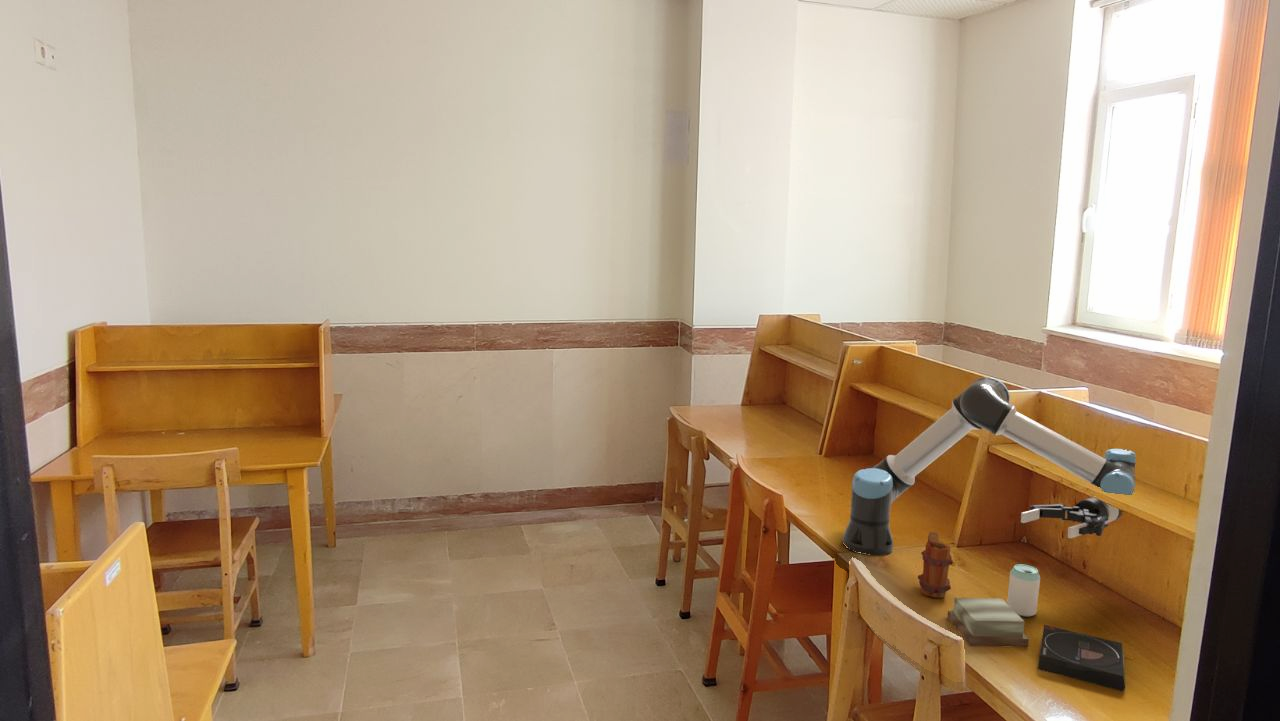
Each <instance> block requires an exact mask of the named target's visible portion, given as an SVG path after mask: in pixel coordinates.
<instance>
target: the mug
mask: <svg viewBox="0 0 1280 721" xmlns="http://www.w3.org/2000/svg"><path fill="white" fill-rule="evenodd" d="M939 537H940V536H939V533H938V532H935V531H930V532H928V536H927V542H926V544H925V550H923V551H921V552H920V553H921V555H922V560H923V564H922V565H923V569H922V573H921V574H919V575H917V579H918V580H919V582H918V584H919V587H920V589H921V590H920V591H921V593H922V594H923V595H925V596H927V597H931V598H943V597H945V596H946V593H947V592H948V591H950V590H951V589H952V586H951V585H950V584H951V582H950V579H949V578H948V576H949V568H950V565H953V563H954V561H953V560H952V558H953V557H952V555H951V546H950V545H949V544H948V543H944V542H943V541H940V540H939Z"/></svg>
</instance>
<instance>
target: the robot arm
mask: <svg viewBox="0 0 1280 721" xmlns="http://www.w3.org/2000/svg"><path fill="white" fill-rule="evenodd" d="M982 429H984V430H985V431H988V432H989V433H991V434H993V435H995V436H999V435H1002V436H1003V437H1005V438H1007V439H1010V440H1012V441H1013V442H1015V443H1017V444H1019V445H1020V446H1022V447H1024V448H1026V449H1028V450H1030V451H1031V452H1033V453H1034V454H1036V455H1039V456H1041V457H1043V458H1044V459H1046V460H1048V461H1049V462H1052V463H1053V464H1055V465H1057V466H1058V467H1060V468H1062V469H1064V470H1066V471H1067V472H1070V474H1073V475H1075V476H1077V477H1078V478H1080V479H1081V480H1084V481H1086V482H1088V483H1089V484H1091V485H1093V486H1094V485H1095V487H1096V486H1097V488H1098V487H1100V488H1101V489H1102V490H1101V489H1100V488H1099V489H1100V490H1101V492H1102V491H1104V492H1107V493H1115V494H1124V495H1132V493H1133V491H1134V492H1135V487H1136V482H1135V481H1136V471H1135V464H1136V463H1137V454H1136V453H1135V452H1134V451H1132V450H1129V451H1127V450H1128V449H1125V450H1123V448H1111V449H1107V450H1106V451H1105V452H1104V457H1102V456H1100V455H1098V454H1097V453H1095V452H1093V451H1091V450H1089V449H1088V448H1086V447H1084V446H1082V445H1080V444H1079V443H1076V442H1074V441H1072V440H1070V439H1069V438H1067V437H1066V436H1064V435H1061V434H1059V433H1057V432H1056V431H1054V430H1052V429H1050V428H1048V427H1047V426H1045V425H1043V424H1042V423H1039V422H1037V421H1036V420H1034V419H1032V418H1030V417H1028V416H1026V415H1024V414H1023V413H1021V412H1019V411H1017V409H1016V406H1015V405H1014V404H1011V403H1010V391H1009V390H1008V387H1007V386H1006V385H1005V383H1003V381H1001V380H999V379H997V378H995V377H991V376H987V377H986V376H985V377H980V378H977V379H975V380H974V381H973V382H972V383H971V384H970V385H968V387H966V388H965V389H964V390H963V391H962V392H961V393H960V394H958V396H957V395H956V397H955V398H954V399H952V401H951V408H950V409H949V410H948V411H946V412H945V413H944V414H943V415H942V416H941V417H940V418H938V419H937V420H935V422H933V423H932V424H931V425H930V426H929V427H927V428H926V429H925V430H924V431H923V432H921V433H920V434H919V435H918V436H917V437H916V438H914V439H913V440H912V441H911V442H910V443H908V445H906V446H905V447H904V448H903V449H902V450H900V451H899V452H898V453H897V454H895V455H894V454H889V455H886V457H885V458H883V459H882V460H881V461H880V462H879V463H877V464H874V466H873V467H868V468H865V469H864V468H863V469H859V470H857V471H856V472H855V473H854V474H853V477H852V478H853V479H852V481H851V488H852V489H851V500H850V513H849V514H850V515H849V521H848V523H847V526H846V528H845V530H844V533H843V535H842V542H843V543H844V544H845V545H846V546H847V547H848V548H850V549H851V550H854V551H856V552H861V553H866V554H870V555H869V556H885V555H888V554H890V553H892V552H893V550H894V541H893V540H894V539H893V536H892V533H891V531H892V530H891V528H890V516H891V515H890V514H891V506H892V503H893V502H894V501H896V499H897V498H899V497H900V496H901V495H902V494H903V493H905V492H906V491H907V490H909V489H910V488H911V486H913V485H914V484H915V483H916V482H915V480H916V479H915V478H916V476H917V475H919V473H921V472H922V471H923V470H925V469H926V468H927V467H928V466H929V465H930V464H932V463H933V462H935V461H936V460H937V459H938V458H940V456H942V455H943V454H944V453H946V452H947V451H948V450H949V449H950V448H951V447H953V446H954V445H955V444H956V443H958V441H959V442H960V441H961V439H963V438H964V437H965V436H966V435H967V434H969V433H970V432H971V431H972V430H976V431H977V430H978V431H981V430H982ZM1135 454H1136V455H1135ZM1135 461H1136V462H1135ZM1136 465H1137V464H1136ZM1134 475H1135V476H1134ZM1094 497H1095V496H1092V497H1089V498H1086V499H1082V500H1079V501H1078V502H1077V503H1076V505H1074V506H1066V504H1065V503H1057V504H1056V503H1055V504H1032V505H1030V506H1029V507H1030V508H1029V510H1028V511H1027V510H1026V511H1023V512H1020V523H1022V524H1025V523H1029V522H1033V521H1037V520H1039V519H1040V518H1043V519H1047V518H1048V519H1061V520H1062V521H1068V522H1069V521H1071V522H1076V523H1079V524H1075V525H1072V526H1068V527H1067V538H1068V539H1074V538H1077V537H1079V536H1084V535H1093V534H1095V536H1097V537H1100V536H1102V535H1103V532H1104V530H1105V528H1107V527H1109V523H1112V522H1115V521H1119V520H1118V519H1119V518H1120V517H1121V516H1122V512H1123V511H1121V510H1119V509H1118V508H1116V507H1113V506H1111V505H1109V504H1107V503H1105V502H1103V501H1101V500H1099V499H1096V498H1094ZM843 543H842V544H843ZM851 550H850V551H851ZM856 552H855V553H856ZM884 554H885V555H884Z"/></svg>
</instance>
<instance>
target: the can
mask: <svg viewBox="0 0 1280 721" xmlns="http://www.w3.org/2000/svg"><path fill="white" fill-rule="evenodd" d="M1008 580H1009V582H1008V588H1007V590H1008V591H1007V599H1006V600H1007V601H1006V603H1007V604H1008V605H1009V606H1010V607H1011V608H1012V609H1013V610H1014V611H1015V612H1016V613H1017V614H1018V615H1019V616H1020V617H1022V616H1023V618H1030V617H1032V616H1035V615H1036V614H1037V608H1038V601H1039V600H1038V599H1039V592H1040V582H1041V576H1040V574H1039V570H1038V569H1037V567H1034V566H1032V565H1029V564H1022V563H1021V564H1020V563H1019V564H1015V565H1014V566H1013V568H1012V569H1011V570H1010V572H1009V579H1008Z"/></svg>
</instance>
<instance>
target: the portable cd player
mask: <svg viewBox="0 0 1280 721" xmlns="http://www.w3.org/2000/svg"><path fill="white" fill-rule="evenodd" d="M1124 656H1125V655H1124V648H1123V643H1122V642H1119V641H1115V640H1109V639H1106V638H1101V637H1098V636H1095V635H1090V634H1085V633H1081V632H1075V631H1072V630H1068V629H1065V628H1064V629H1063V628H1059V627H1056V626H1051V625H1048V624H1043V631H1042V637H1041V644H1040V650H1039V658H1038V666H1037V669H1038V670H1039V669H1040V671H1043V670H1044V671H1043V672H1047V671H1048V672H1047V673H1051V674H1054V673H1055V675H1058V676H1062V677H1065V678H1066V677H1067V678H1070V679H1074V680H1077V681H1082V682H1086V683H1091V684H1093V685H1098V686H1100V687H1105V688H1108V689H1114V690H1118V691H1119V692H1120V691H1121V692H1123V691H1124V690H1125V689H1126V680H1125V659H1124V658H1125V657H1124Z"/></svg>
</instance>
